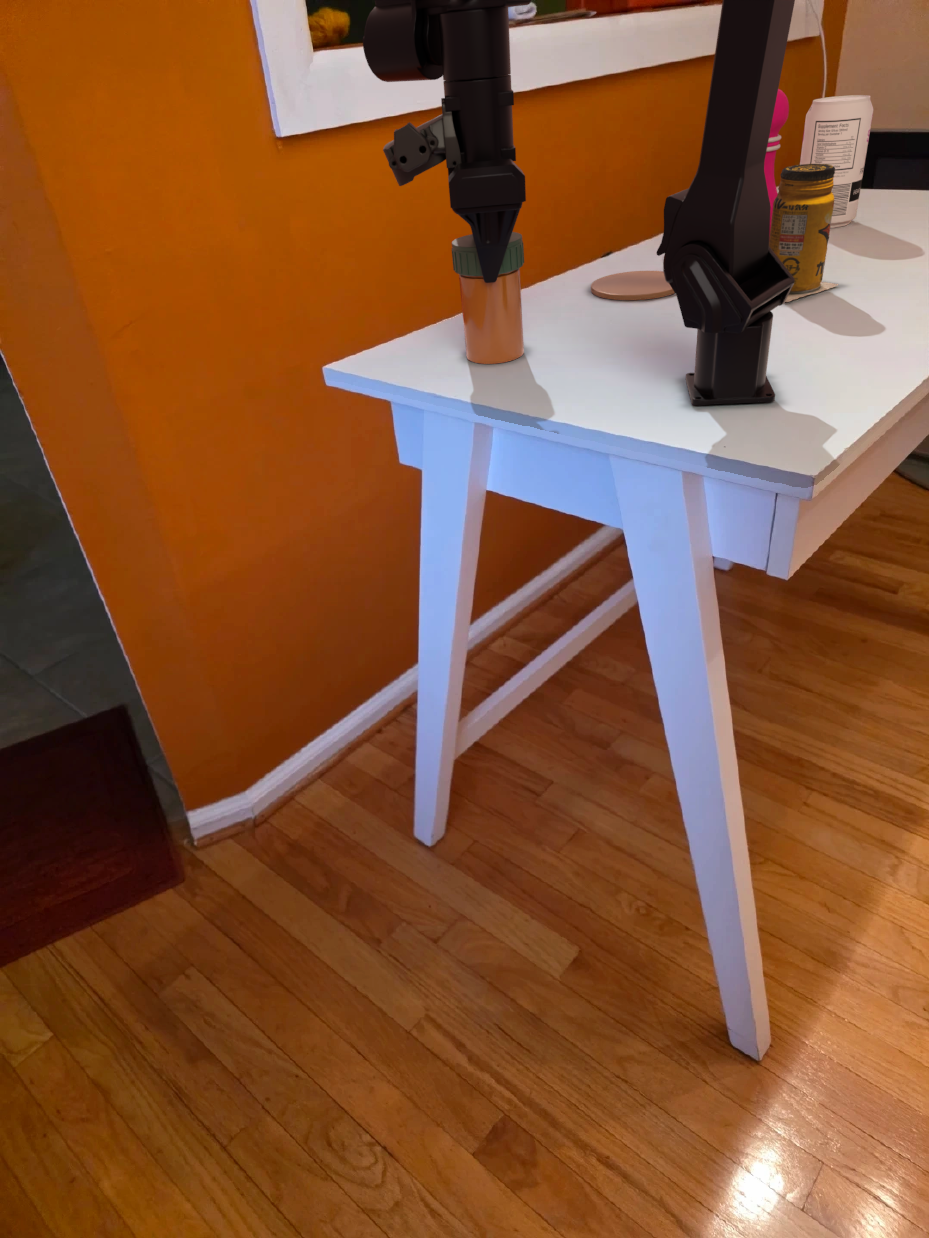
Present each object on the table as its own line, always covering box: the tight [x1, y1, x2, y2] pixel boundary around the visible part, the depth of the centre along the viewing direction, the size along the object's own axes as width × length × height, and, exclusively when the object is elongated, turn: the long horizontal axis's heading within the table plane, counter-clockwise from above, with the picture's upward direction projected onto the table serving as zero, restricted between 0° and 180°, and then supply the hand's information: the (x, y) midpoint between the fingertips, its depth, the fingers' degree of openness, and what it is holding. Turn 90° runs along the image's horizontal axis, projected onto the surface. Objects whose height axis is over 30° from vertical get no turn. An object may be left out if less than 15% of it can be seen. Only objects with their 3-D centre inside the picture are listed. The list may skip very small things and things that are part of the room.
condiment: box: [769, 164, 839, 303], centre depth 88 cm, size 7×8×12 cm
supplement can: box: [799, 94, 874, 229], centre depth 112 cm, size 8×8×15 cm
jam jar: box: [458, 268, 525, 365], centre depth 80 cm, size 6×6×10 cm
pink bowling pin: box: [764, 88, 790, 238], centre depth 98 cm, size 7×7×20 cm
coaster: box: [590, 270, 676, 301], centre depth 98 cm, size 11×11×1 cm
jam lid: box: [451, 231, 525, 276], centre depth 77 cm, size 7×7×2 cm
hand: (488, 273), depth 78 cm, fingers closed on jam lid, 6 cm apart
